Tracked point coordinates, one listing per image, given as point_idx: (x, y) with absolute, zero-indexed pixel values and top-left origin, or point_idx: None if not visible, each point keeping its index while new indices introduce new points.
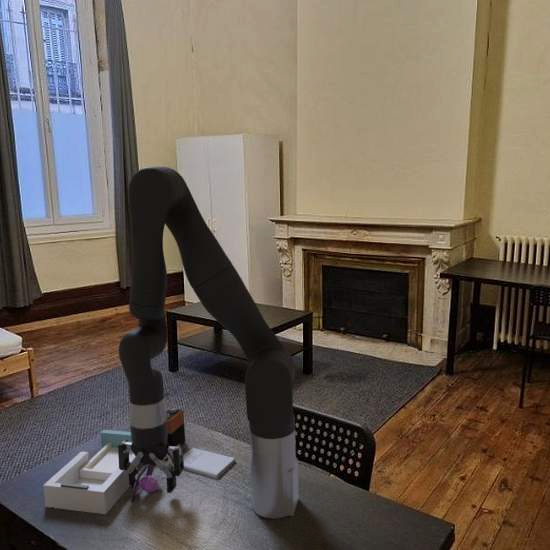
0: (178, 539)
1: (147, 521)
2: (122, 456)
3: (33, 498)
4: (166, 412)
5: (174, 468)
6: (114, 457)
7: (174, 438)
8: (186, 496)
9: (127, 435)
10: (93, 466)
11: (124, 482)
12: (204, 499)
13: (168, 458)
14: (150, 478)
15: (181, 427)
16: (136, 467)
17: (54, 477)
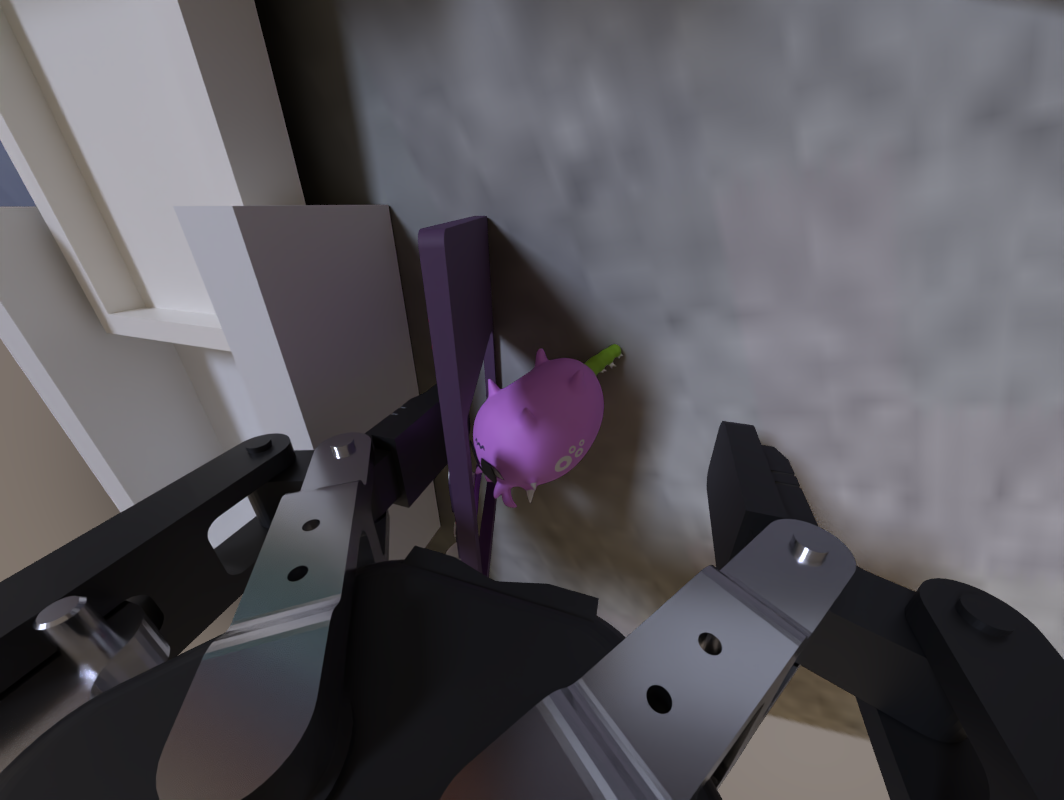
0: (832, 708)
1: (638, 588)
2: (192, 631)
3: None
4: None
5: (890, 781)
6: (94, 58)
7: None
8: (853, 417)
9: None
10: (114, 228)
11: (379, 397)
12: (1050, 455)
13: (764, 703)
14: (542, 467)
15: None
16: (332, 212)
17: (107, 485)
